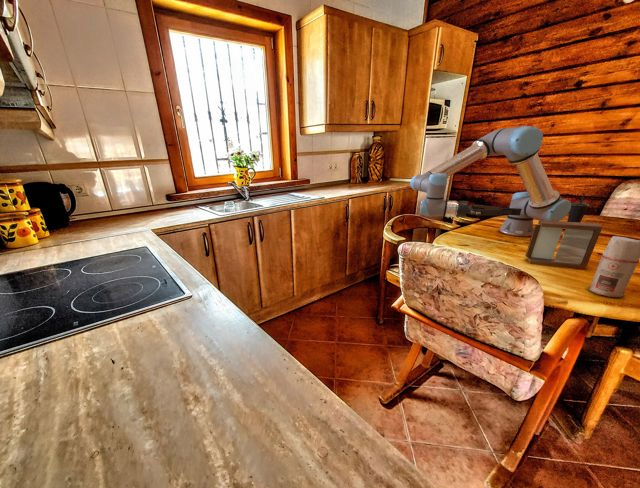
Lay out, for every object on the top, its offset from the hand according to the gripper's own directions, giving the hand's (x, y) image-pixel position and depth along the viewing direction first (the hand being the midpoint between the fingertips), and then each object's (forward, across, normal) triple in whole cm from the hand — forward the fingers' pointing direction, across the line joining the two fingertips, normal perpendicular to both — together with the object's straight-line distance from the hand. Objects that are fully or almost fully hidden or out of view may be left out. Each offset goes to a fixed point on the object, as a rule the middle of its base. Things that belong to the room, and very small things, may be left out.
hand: (520, 212), depth 118 cm
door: (+11, 0, -20) cm, 23 cm away
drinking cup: (+42, -65, -21) cm, 80 cm away
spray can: (+24, +25, -22) cm, 41 cm away
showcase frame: (+16, +1, -22) cm, 27 cm away
